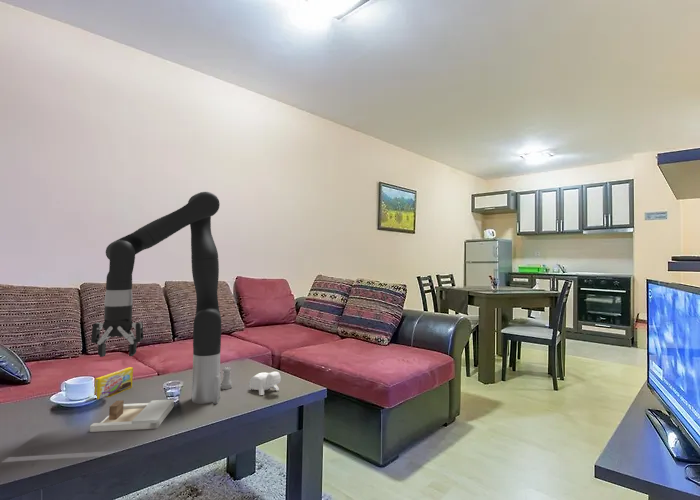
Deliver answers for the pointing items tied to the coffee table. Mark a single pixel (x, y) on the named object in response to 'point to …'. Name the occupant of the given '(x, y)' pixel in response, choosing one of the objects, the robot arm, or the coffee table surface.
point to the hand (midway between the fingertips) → (117, 356)
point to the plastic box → (139, 417)
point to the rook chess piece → (226, 379)
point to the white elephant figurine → (265, 381)
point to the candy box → (113, 383)
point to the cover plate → (125, 415)
